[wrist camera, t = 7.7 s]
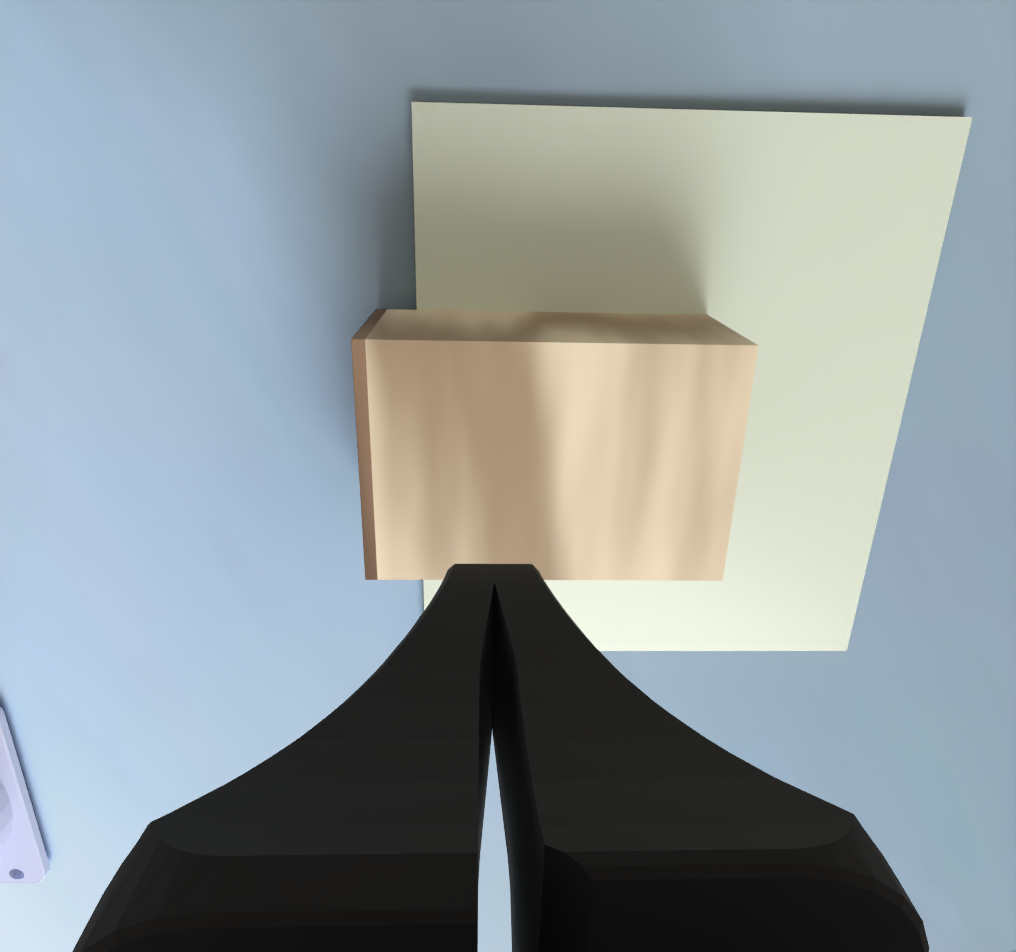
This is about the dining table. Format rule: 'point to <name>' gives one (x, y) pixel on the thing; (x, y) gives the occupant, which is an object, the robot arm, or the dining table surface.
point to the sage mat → (716, 313)
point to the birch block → (549, 442)
